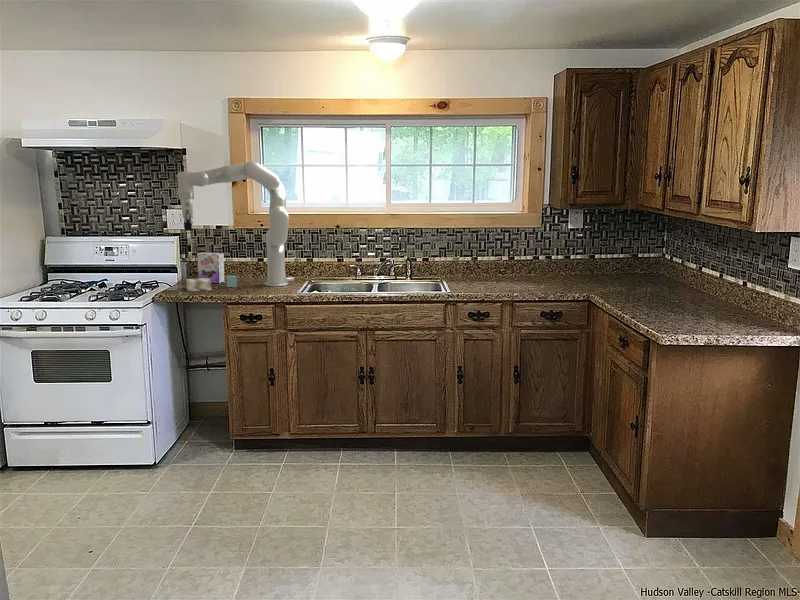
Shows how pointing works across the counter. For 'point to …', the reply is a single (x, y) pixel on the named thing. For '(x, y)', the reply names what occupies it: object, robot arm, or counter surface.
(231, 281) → the teal block
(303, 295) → the counter surface
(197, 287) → the birch block
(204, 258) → the candy box
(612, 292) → the counter surface
